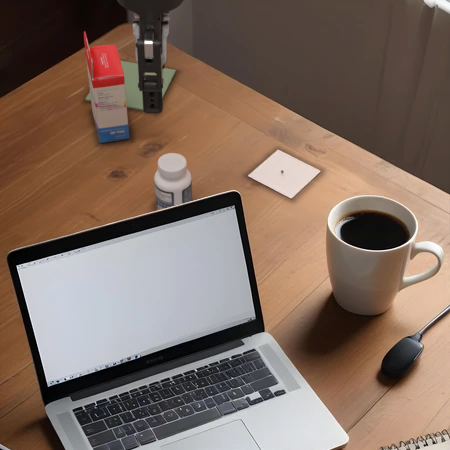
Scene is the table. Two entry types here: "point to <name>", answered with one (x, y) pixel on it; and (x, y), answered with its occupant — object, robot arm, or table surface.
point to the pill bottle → (172, 181)
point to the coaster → (284, 173)
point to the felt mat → (131, 84)
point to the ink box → (107, 92)
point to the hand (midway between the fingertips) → (154, 89)
